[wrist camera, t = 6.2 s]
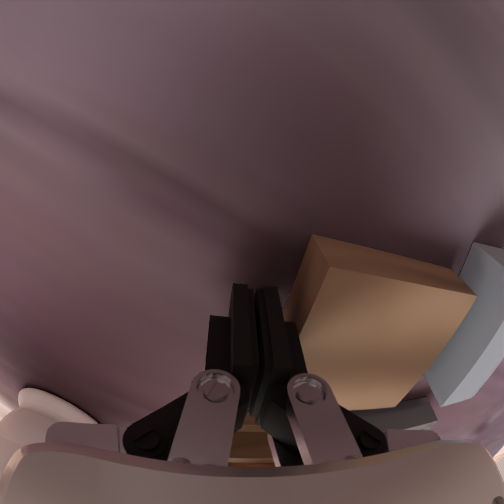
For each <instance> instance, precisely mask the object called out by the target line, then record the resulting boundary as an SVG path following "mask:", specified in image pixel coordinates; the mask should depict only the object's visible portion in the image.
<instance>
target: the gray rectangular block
mask: <svg viewBox="0 0 504 504" xmlns="http://www.w3.org/2000/svg"><path fill="white" fill-rule="evenodd" d="M459 277H460V278H461V279H462V280H463V281H464V282H465V283H466V284H467V285H468V286H469V288H470V289H471V290H472V291H473V292H474V293H475V294H476V295H477V298H476V300H475V301H474V303H473V305H472V306H471V308H470V310H469V311H468V313H467V314H466V316H465V318H464V319H463V321H462V322H461V324H460V325H459V327H458V328H457V330H456V331H455V333H454V334H453V336H452V337H451V339H450V340H449V341H448V343H447V344H446V346H445V347H444V348H443V350H442V351H441V352H440V354H439V355H438V356H437V358H436V359H435V360H434V362H433V363H432V364H431V366H430V367H429V368H428V369H427V371H426V372H425V373H424V374H423V375H424V377H425V379H426V380H427V382H428V384H429V386H430V388H431V390H432V392H433V394H434V396H435V398H436V400H437V402H438V403H439V405H440V407H443V406H446V405H450V404H453V403H457V402H460V401H463V400H466V399H469V398H472V397H473V396H474V395H475V394H476V393H477V391H478V390H479V389H480V388H481V387H482V385H483V384H484V383H485V382H486V380H487V379H488V378H489V377H490V375H491V374H492V373H493V371H494V370H495V369H496V367H497V366H498V365H499V363H500V362H501V361H502V359H503V358H504V250H503V249H502V248H497V247H493V246H489V245H484V244H480V243H475V242H473V244H472V246H471V249H470V251H469V254H468V256H467V259H466V261H465V264H464V266H463V268H462V270H461V273H460V275H459Z"/></svg>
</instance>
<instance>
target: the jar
mask: <svg viewBox="0 0 504 504" xmlns="http://www.w3.org/2000/svg"><path fill="white" fill-rule="evenodd" d="M18 401H19V408H18V409H15V410H13V411H12V412H10V413H9V414H8V415H6V416H5V417H4V418H3V419H2V420H1V421H0V479H1V477H2V474H3V472H4V469H5V467H6V465H7V463H8V462H9V460H10V458H11V457H12V455H13V454H14V453H15V452H16V451H17V450H18V449H19V448H21V447H23V446H26V445H29V444H34V443H41V442H45V437H46V433H47V430H48V428H49V427H50V426H51V425H52V424H54V423H57V422H75V423H90V424H98V423H97V422H96V421H95V420H94V419H92V418H91V417H90V416H89V415H87V414H86V413H84V412H83V411H82V410H80V409H79V408H77V407H75V406H74V405H72V404H70V403H69V402H67V401H65V400H63V399H61V398H59V397H57V396H55V395H53V394H50V393H48V392H45V391H42V390H39V389H34V388H24V389H22V390H21V391H20V392H19V395H18Z"/></svg>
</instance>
